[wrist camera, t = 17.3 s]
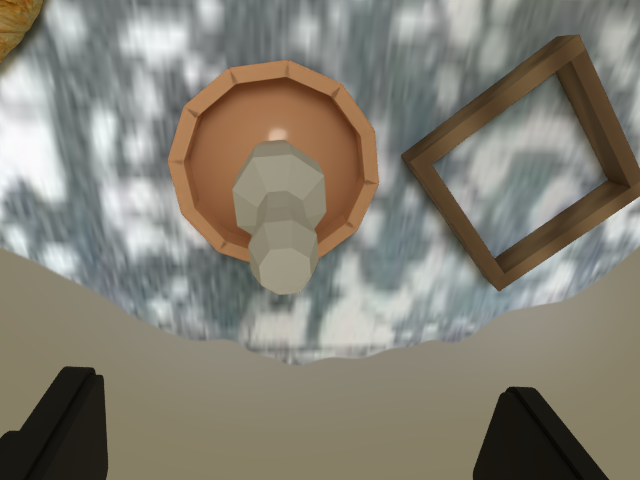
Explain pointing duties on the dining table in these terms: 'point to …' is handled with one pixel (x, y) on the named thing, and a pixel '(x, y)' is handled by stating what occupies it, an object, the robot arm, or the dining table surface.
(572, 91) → the square wooden frame
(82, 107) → the dining table surface
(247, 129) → the terracotta dish
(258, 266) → the faceted bottle
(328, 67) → the dining table surface
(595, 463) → the robot arm
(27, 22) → the croissant
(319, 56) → the dining table surface
